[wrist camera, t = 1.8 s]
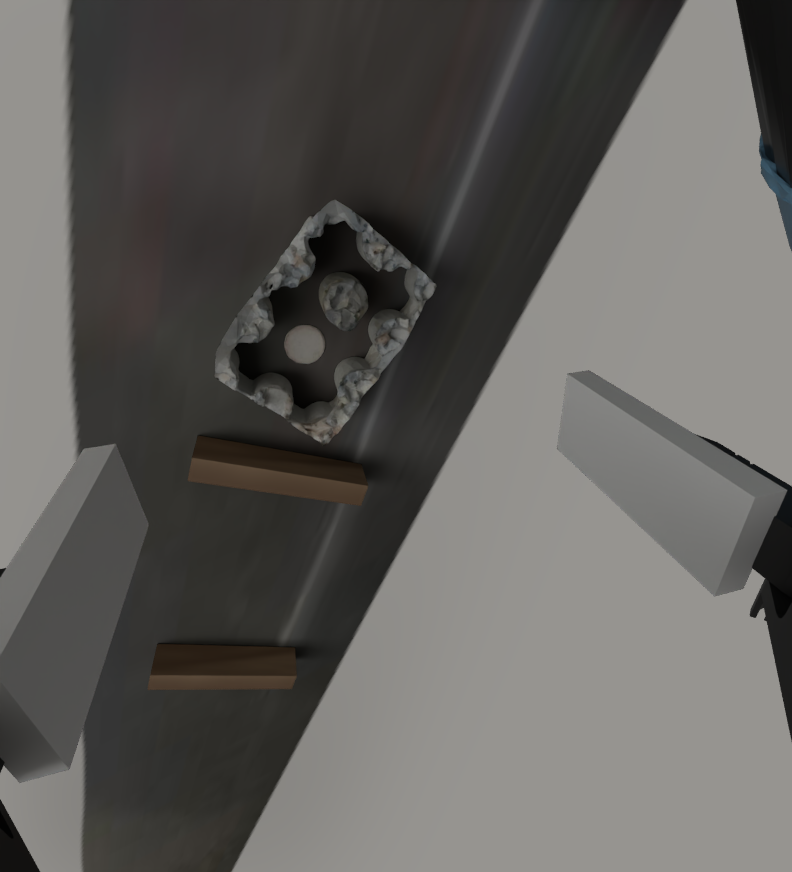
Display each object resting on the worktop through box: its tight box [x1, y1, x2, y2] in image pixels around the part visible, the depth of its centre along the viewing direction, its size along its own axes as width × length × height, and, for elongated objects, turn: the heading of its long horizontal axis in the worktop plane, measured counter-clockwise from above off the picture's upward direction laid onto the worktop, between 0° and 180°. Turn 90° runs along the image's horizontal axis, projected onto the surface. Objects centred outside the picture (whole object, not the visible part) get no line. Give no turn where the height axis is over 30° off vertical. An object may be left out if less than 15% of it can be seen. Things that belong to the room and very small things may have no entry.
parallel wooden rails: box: [148, 435, 368, 690], centre depth 32 cm, size 19×10×2 cm, turn 160°
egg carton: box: [214, 200, 437, 446], centre depth 24 cm, size 11×8×4 cm
